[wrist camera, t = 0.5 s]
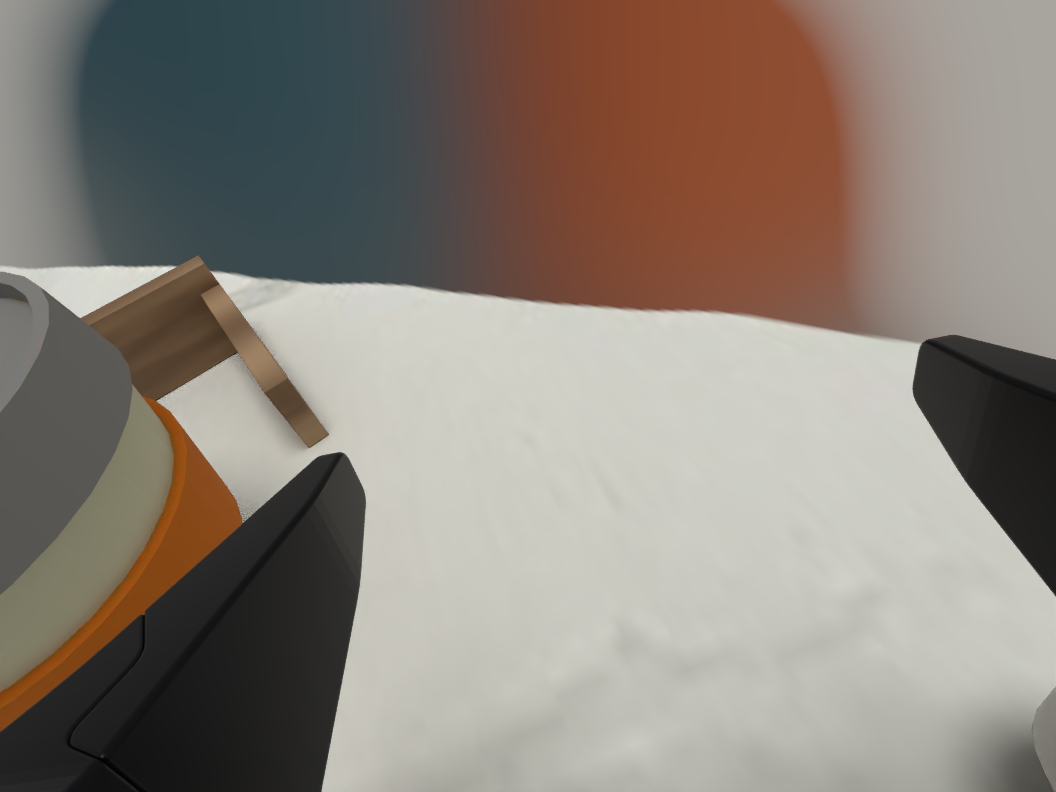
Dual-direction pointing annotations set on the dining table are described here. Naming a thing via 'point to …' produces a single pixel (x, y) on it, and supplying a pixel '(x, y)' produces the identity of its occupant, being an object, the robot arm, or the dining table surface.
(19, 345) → the reusable coffee cup
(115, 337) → the holder
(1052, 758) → the donut
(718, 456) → the dining table surface
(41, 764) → the robot arm
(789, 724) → the dining table surface
